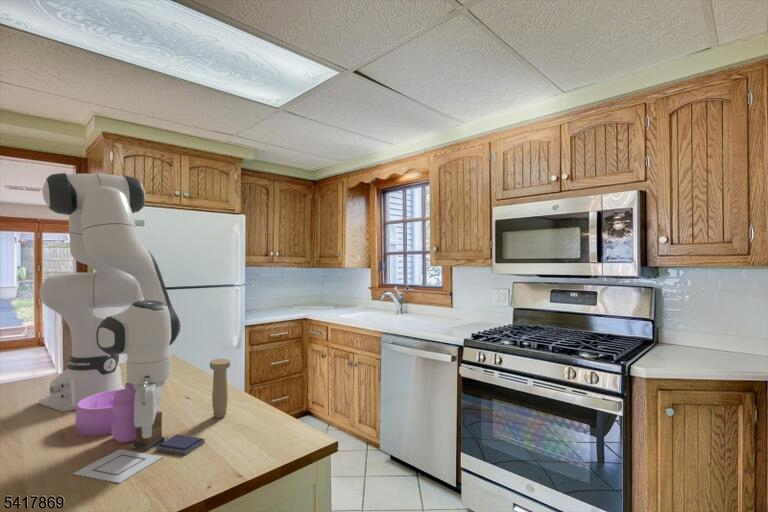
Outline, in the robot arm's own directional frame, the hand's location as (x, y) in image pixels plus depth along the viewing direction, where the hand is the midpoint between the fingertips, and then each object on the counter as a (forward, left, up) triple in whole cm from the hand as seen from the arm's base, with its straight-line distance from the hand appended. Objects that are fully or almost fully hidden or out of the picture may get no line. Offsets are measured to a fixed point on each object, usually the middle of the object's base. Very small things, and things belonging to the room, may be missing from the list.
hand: (148, 430), depth 89 cm
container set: (-15, +5, -4) cm, 17 cm away
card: (+2, -9, -3) cm, 10 cm away
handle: (+5, +18, -3) cm, 19 cm away
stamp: (0, 0, -3) cm, 3 cm away
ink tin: (+8, +1, -3) cm, 9 cm away
